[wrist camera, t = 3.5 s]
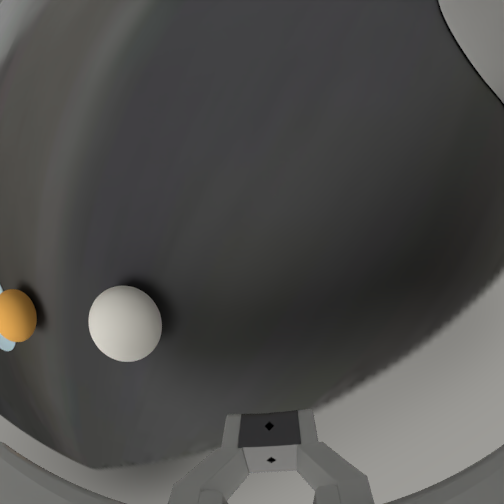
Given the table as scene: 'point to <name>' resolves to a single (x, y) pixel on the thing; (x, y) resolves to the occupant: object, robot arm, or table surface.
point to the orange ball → (16, 315)
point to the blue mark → (3, 342)
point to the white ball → (125, 323)
